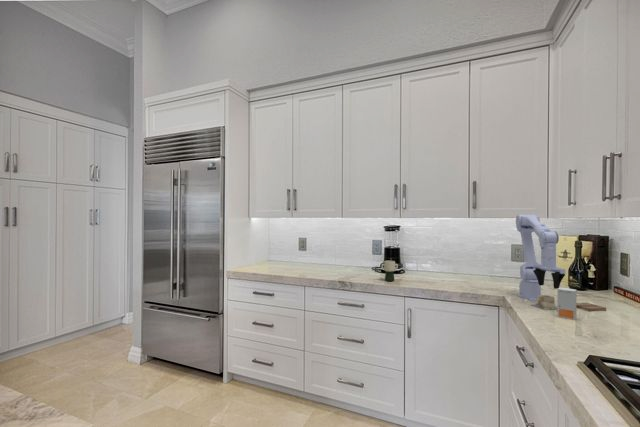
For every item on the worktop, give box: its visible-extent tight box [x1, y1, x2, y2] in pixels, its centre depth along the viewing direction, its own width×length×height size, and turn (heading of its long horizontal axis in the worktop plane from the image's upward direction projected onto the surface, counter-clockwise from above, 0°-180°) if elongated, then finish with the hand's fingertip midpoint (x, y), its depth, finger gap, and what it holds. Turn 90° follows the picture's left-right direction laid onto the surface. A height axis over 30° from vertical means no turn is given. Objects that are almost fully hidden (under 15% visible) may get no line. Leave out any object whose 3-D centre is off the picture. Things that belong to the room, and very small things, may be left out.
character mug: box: [380, 260, 399, 282], centre depth 221 cm, size 11×7×13 cm, turn 91°
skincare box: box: [556, 287, 577, 320], centre depth 140 cm, size 6×4×12 cm
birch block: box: [537, 294, 555, 309], centre depth 156 cm, size 4×5×5 cm
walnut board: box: [576, 302, 607, 313], centre depth 154 cm, size 9×9×2 cm
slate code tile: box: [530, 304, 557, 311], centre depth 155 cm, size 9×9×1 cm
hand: (548, 286), depth 155 cm, fingers open, 7 cm apart
